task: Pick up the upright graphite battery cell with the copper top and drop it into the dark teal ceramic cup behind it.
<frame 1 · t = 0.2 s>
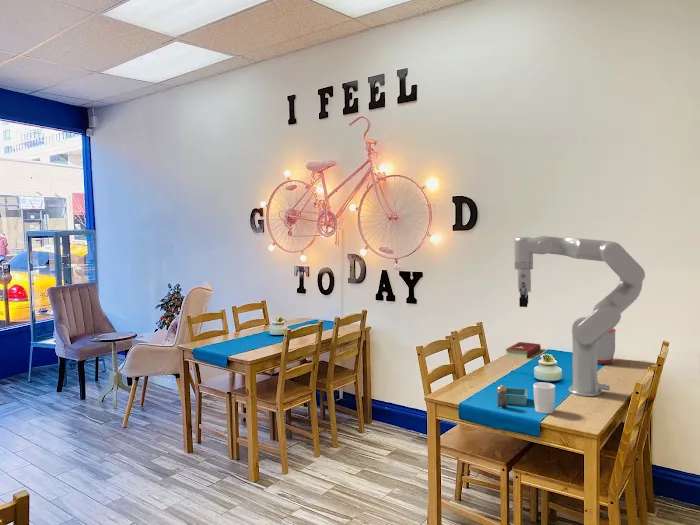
hand: (523, 305, 227), 36 cm above the table, tool pointing down, fingers open, 9 cm apart
white cup: (544, 411, 201), on the table
cell: (502, 407, 207), on the table
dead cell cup: (514, 401, 213), on the table
citrus juicer: (597, 362, 268), on the table
hardcover book: (523, 353, 291), on the table
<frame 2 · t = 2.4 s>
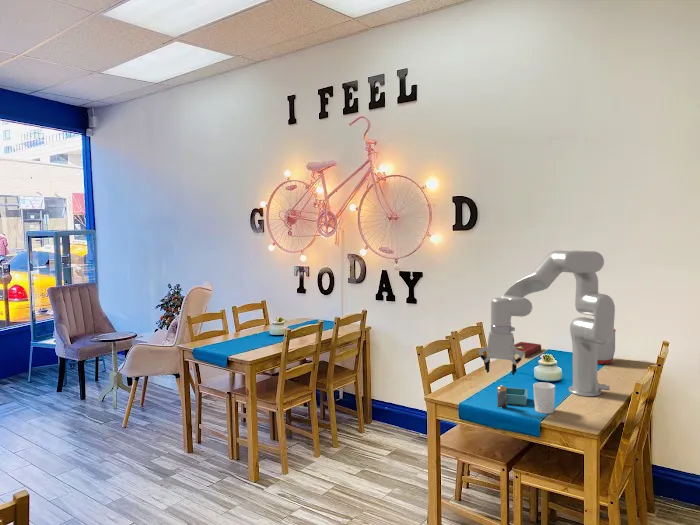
hand: (500, 372, 205), 14 cm above the table, tool pointing down, fingers open, 9 cm apart
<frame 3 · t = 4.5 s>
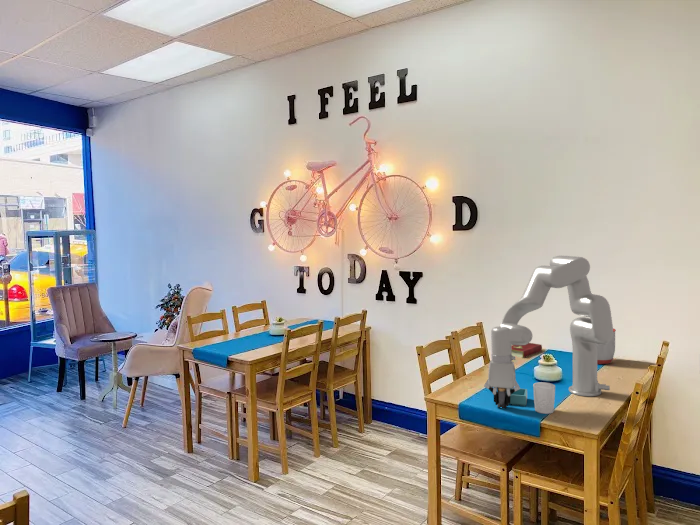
hand: (502, 404, 206), 1 cm above the table, tool pointing down, fingers closed on cell, 3 cm apart
cell: (502, 407, 207), on the table, touching gripper
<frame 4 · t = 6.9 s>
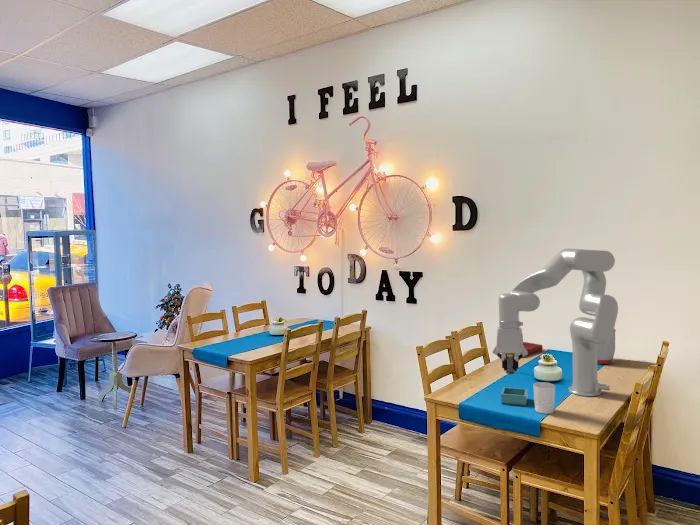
hand: (510, 369, 210), 14 cm above the table, tool pointing down, fingers closed on cell, 3 cm apart
cell: (510, 372, 210), point 12 cm above the table, touching gripper
when the fingers open (7 cm above the table, at t = 9.3 s): cell drops 5 cm, resting on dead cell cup.
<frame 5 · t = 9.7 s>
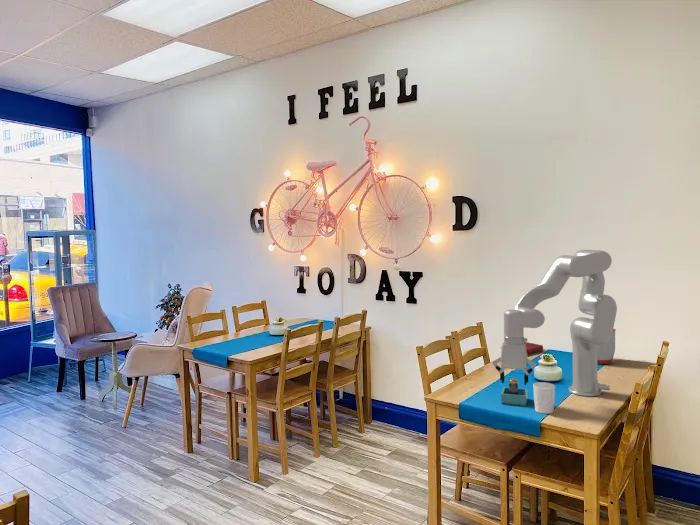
hand: (514, 382, 212), 8 cm above the table, tool pointing down, fingers open, 8 cm apart
cell: (513, 399, 213), point 1 cm above the table, touching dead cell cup
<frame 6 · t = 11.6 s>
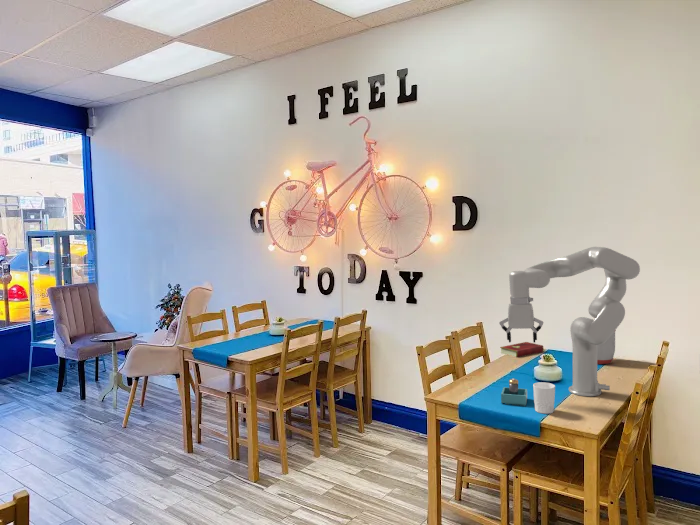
hand: (522, 341, 217), 23 cm above the table, tool pointing down, fingers open, 9 cm apart
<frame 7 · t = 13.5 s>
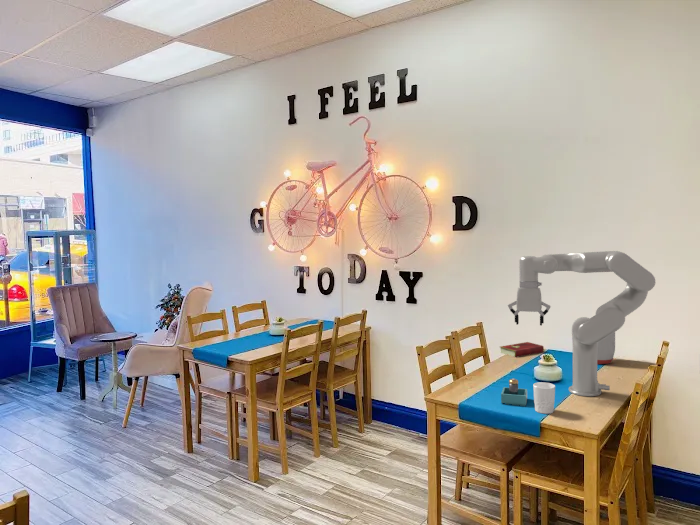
hand: (529, 324, 226), 28 cm above the table, tool pointing down, fingers open, 9 cm apart
at the end: cell inside the target area on the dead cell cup (0.3 cm from its centre), point 0.6 cm above the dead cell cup's base; the gripper is holding nothing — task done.
